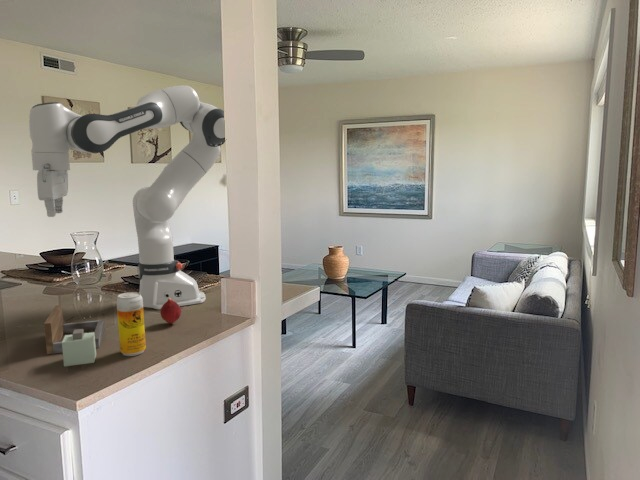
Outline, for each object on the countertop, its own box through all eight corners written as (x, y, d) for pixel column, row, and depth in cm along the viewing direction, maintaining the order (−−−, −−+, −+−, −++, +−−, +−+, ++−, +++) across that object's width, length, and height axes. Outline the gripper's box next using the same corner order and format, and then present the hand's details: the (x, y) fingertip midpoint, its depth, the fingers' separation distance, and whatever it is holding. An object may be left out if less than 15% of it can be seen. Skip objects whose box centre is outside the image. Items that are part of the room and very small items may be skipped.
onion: (185, 321, 145) (184, 296, 144) (173, 328, 140) (172, 301, 139) (169, 319, 147) (167, 294, 146) (157, 326, 142) (155, 299, 141)
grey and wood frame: (104, 327, 141) (102, 301, 139) (99, 347, 126) (96, 318, 124) (58, 332, 137) (55, 305, 135) (47, 354, 122) (43, 323, 120)
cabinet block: (96, 355, 121) (93, 326, 120) (94, 362, 117) (91, 333, 115) (67, 358, 119) (64, 329, 118) (64, 366, 115) (61, 336, 113)
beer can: (130, 358, 119) (126, 299, 116) (115, 353, 122) (110, 296, 119) (151, 350, 124) (147, 293, 121) (135, 345, 127) (131, 290, 124)
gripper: (56, 164, 122) (60, 218, 124) (70, 163, 142) (74, 211, 144) (28, 164, 120) (32, 219, 123) (46, 163, 140) (50, 211, 142)
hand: (55, 214), depth 133 cm, fingers open, 8 cm apart
